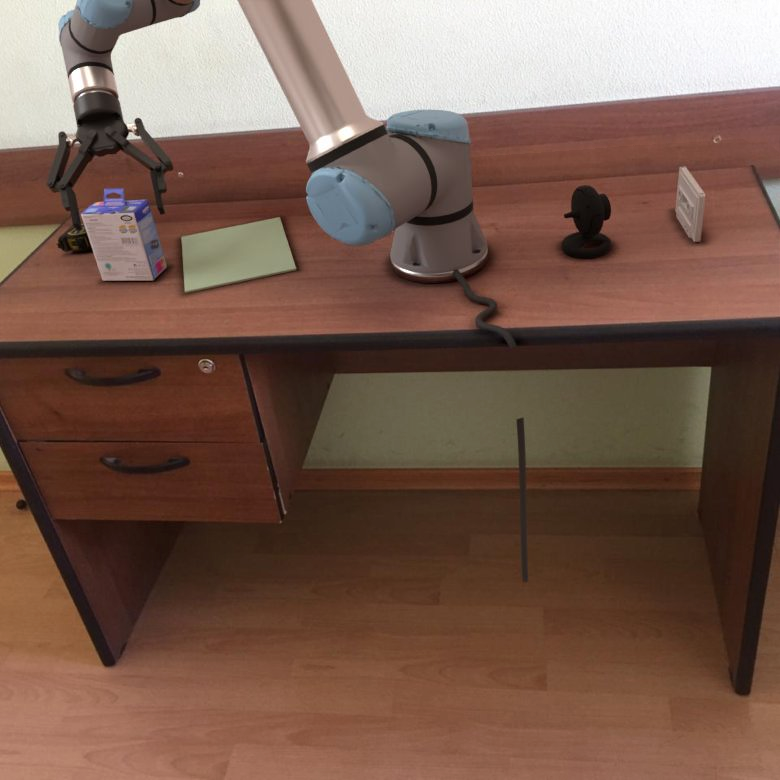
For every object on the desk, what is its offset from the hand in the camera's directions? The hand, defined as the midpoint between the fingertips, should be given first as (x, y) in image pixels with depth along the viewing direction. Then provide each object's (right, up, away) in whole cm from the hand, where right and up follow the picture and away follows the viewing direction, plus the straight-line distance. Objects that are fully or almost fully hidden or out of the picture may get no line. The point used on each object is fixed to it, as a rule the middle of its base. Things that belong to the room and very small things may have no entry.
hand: (119, 219), depth 136 cm
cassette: (+91, -2, -5) cm, 91 cm away
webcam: (+75, -6, -7) cm, 75 cm away
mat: (+18, -5, +6) cm, 19 cm away
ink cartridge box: (+2, -9, +4) cm, 10 cm away
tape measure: (-12, -2, +16) cm, 20 cm away
